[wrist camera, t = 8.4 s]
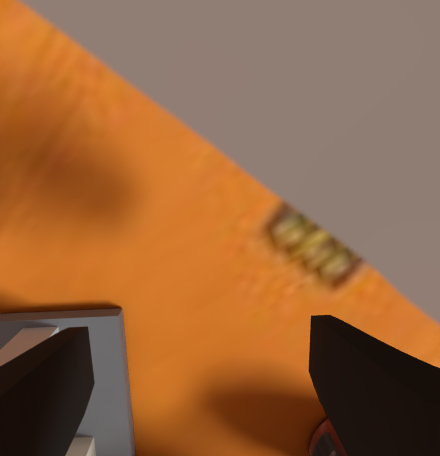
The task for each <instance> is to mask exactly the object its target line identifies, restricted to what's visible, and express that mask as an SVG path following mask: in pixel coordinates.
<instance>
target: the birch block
mask: <svg viewBox="0 0 440 456" xmlns="http://www.w3.org/2000/svg"><path fill="white" fill-rule="evenodd" d="M65 456H96V450H95V442H94V437H80V438H74V439H73V441H72V443H71V445H70V447H69V449H68V451H67V453H66V455H65Z"/></svg>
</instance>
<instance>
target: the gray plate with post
mask: <svg viewBox="0 0 440 456" xmlns="http://www.w3.org/2000/svg"><path fill="white" fill-rule="evenodd" d="M86 326H88V330H89V339H90V347H91V356H92V364H93V373H94V381H95V384H94V387H93V390H92V394H91V397H90V400H89V403H88V406H87V409H86V412H85V415H84V417H83V419H82V421H81V424H80V426H79V428H78V430H77V432H76V434H75V436H74V438H80V437H94V442H95V450H96V456H136V451H135V440H134V429H133V418H132V407H131V396H130V385H129V374H128V363H127V352H126V341H125V330H124V319H123V308H117V309H94V310H72V311H50V312H27V313H5V314H0V366H1V365H3V364H5V363H7V362H9V361H10V360H12V359H14V358H15V357H17V356H19V355H20V354H22V353H24V352H25V351H27V350H29V349H31V348H32V347H34V346H36V345H37V344H39V343H41V342H42V341H44V340H46V339H47V338H49V337H51V336H52V335H54V334H56V333H58V332H60V331H62V330H64V329H66V328H68V327H86Z"/></svg>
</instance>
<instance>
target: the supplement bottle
mask: <svg viewBox="0 0 440 456" xmlns="http://www.w3.org/2000/svg"><path fill="white" fill-rule="evenodd" d="M309 451H310V452H309V454H310V456H348V455H347V453H346V451H345V449H344V447H343V445H342V444H341V442H340V440H339V438H338V436H337V434H336V432H335V430H334V428H333V426H332V424H331V422H330V420H329V418H328V419H326V420H325V421H324V422H322V423H321V424H320V426H319V427H318V428H317V429H316V431H315V433H314V434H313V437H312V439H311V442H310V450H309Z"/></svg>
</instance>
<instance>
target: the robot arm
mask: <svg viewBox="0 0 440 456" xmlns="http://www.w3.org/2000/svg"><path fill="white" fill-rule="evenodd" d="M309 373H310V376H311V379H312V382H313V385H314V387H315V390H316V393H317V395H318V398H319V401H320V403H321V405H322V407H323V409H324V411H325V413H326V415H327V416H328V418H329V420H330V422H331V424H332V426H333V428H334V430H335V432H336V434H337V436H338V438H339V440H340V442H341V444H342V445H343V447H344V449H345V451H346V453H347V455H348V456H440V368H438V367H435V366H433V365H430V364H428V363H426V362H423V361H421V360H419V359H417V358H415V357H413V356H410V355H408V354H406V353H404V352H402V351H400V350H398V349H396V348H394V347H392V346H390V345H388V344H386V343H384V342H382V341H380V340H378V339H376V338H374V337H372V336H370V335H368V334H367V333H365V332H363V331H361V330H359V329H357V328H355V327H353V326H352V325H350V324H348V323H346V322H344V321H342V320H340V319H338V318H336V317H333V316H331V315H317V316H311V330H310V353H309ZM94 384H95V381H94V373H93V364H92V356H91V347H90V339H89V330H88V326H86V327H68V328H66V329H64V330H62V331H60V332H58V333H56V334H54V335H52V336H51V337H49V338H47V339H46V340H44V341H42V342H41V343H39V344H37V345H36V346H34V347H32V348H31V349H29V350H27V351H25V352H24V353H22V354H20V355H19V356H17V357H15V358H14V359H12V360H10V361H9V362H7V363H5V364H3V365H1V366H0V456H65V455H66V453H67V451H68V449H69V447H70V445H71V443H72V441H73V439H74V436H75V434H76V432H77V430H78V428H79V426H80V424H81V421H82V419H83V417H84V415H85V412H86V409H87V406H88V403H89V400H90V397H91V394H92V390H93V387H94Z"/></svg>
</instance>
